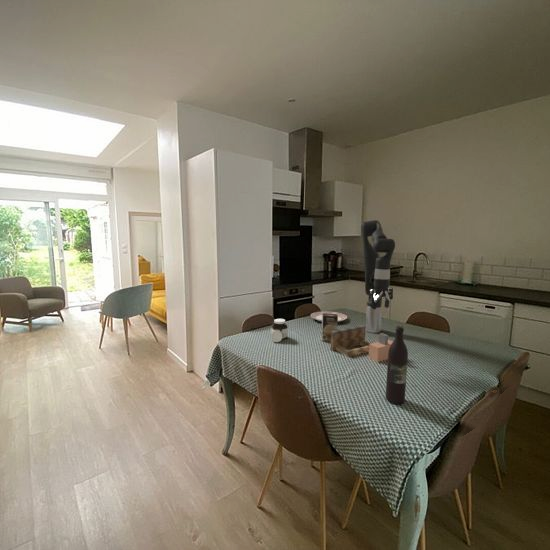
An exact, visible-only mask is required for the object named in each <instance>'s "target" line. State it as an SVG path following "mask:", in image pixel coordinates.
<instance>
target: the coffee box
mask: <svg viewBox="0 0 550 550" xmlns="http://www.w3.org/2000/svg"><path fill="white" fill-rule="evenodd" d="M338 323H339V322H338V316H337V314H327V313H322V322H321V335H320V336H321V338H320V339H321V342H329V343H331V331H334V330H338Z"/></svg>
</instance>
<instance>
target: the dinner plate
mask: <svg viewBox="0 0 550 550" xmlns="http://www.w3.org/2000/svg"><path fill="white" fill-rule="evenodd" d="M322 313H327V314H337V316H338V323H339V322H342V321H345V320H347V318H348V316H347V315H346V314H343V313H340V312H336V311H316V312H313V313H311V314H310V317H311V318H312V319H313V320H316V321H318V322H321V323H322Z"/></svg>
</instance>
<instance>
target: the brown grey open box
mask: <svg viewBox="0 0 550 550" xmlns="http://www.w3.org/2000/svg"><path fill="white" fill-rule="evenodd" d="M371 343H372V342H368V341H366V325H364V324H361V325H356V326H351V327H345V328H340V329H337V330H334V331H331V342H330V351H331V352H338V353H340V354H341V355H344V356H345V355H346V357H347V358H349V357H354V356H358V355H361V353H362V354H365V353H369V344H371ZM357 346H361V347H357ZM363 346H364V347H363ZM348 347H349V348H352V347H357V348H353V349H348ZM335 350H337V351H335ZM357 354H358V355H357ZM353 355H354V356H353Z"/></svg>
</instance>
